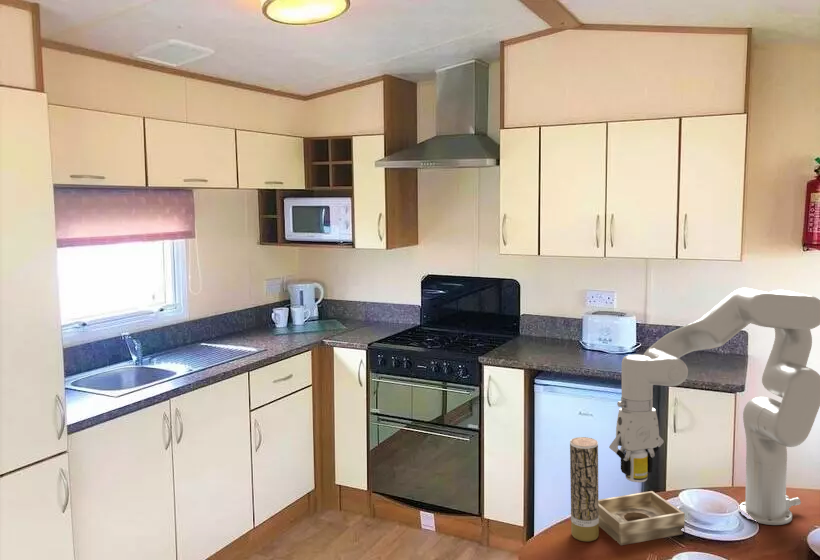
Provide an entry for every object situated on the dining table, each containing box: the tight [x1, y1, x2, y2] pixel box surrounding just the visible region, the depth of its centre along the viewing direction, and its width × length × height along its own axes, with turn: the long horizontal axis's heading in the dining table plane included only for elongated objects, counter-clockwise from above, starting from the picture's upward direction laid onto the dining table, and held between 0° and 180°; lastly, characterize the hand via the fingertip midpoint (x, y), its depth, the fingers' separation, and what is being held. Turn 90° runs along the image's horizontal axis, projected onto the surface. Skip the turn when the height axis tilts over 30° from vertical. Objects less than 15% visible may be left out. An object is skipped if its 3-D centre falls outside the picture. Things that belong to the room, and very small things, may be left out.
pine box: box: [598, 490, 686, 546], centre depth 179 cm, size 18×14×6 cm
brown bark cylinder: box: [569, 436, 600, 543], centre depth 174 cm, size 7×7×25 cm
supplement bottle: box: [624, 450, 649, 483], centre depth 177 cm, size 5×5×10 cm
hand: (636, 471), depth 177 cm, fingers closed on supplement bottle, 5 cm apart
